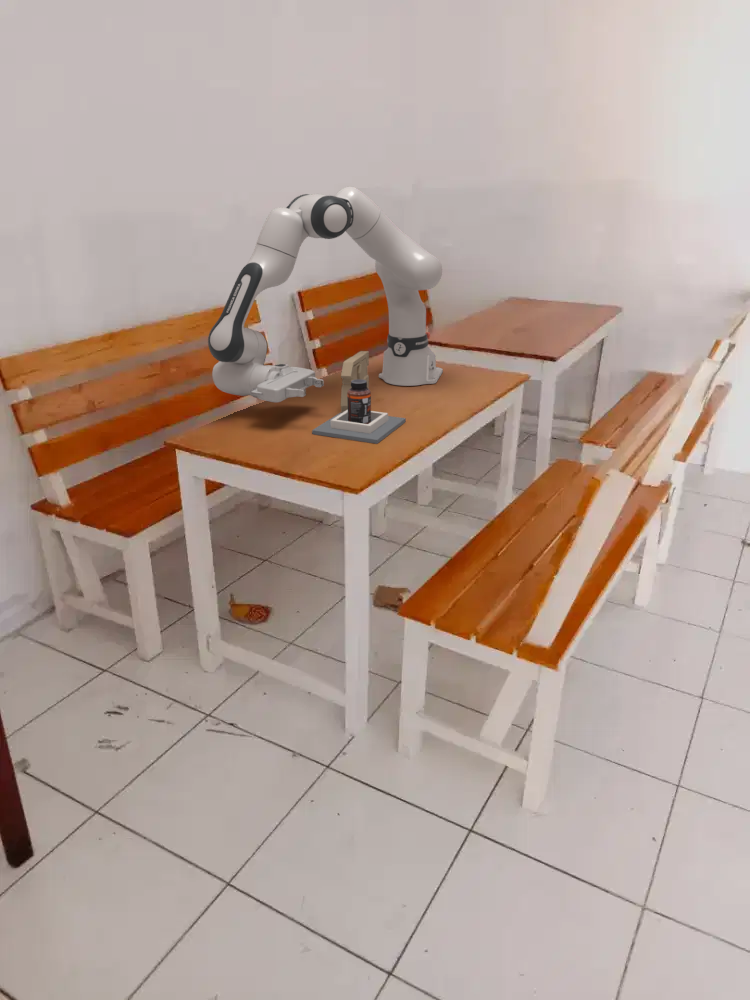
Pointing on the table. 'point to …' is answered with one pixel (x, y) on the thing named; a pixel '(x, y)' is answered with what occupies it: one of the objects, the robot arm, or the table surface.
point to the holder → (360, 427)
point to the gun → (353, 374)
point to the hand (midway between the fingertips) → (313, 388)
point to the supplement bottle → (359, 402)
